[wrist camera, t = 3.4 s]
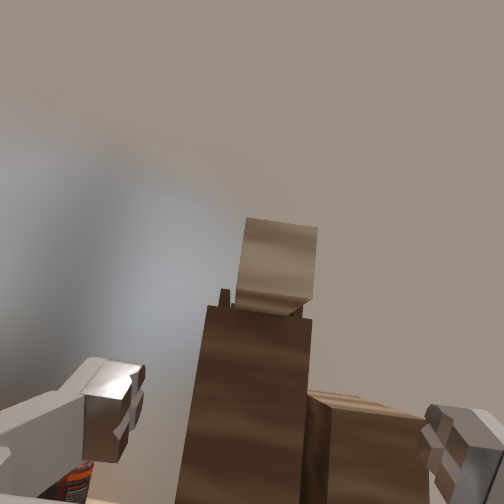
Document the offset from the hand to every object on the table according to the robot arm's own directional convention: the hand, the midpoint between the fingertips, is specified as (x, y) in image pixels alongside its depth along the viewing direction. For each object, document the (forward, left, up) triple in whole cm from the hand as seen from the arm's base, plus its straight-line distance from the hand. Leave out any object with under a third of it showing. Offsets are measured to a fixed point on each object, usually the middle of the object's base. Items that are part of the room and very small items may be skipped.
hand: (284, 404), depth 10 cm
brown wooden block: (+11, +20, -22) cm, 31 cm away
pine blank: (+9, +15, +4) cm, 18 cm away
